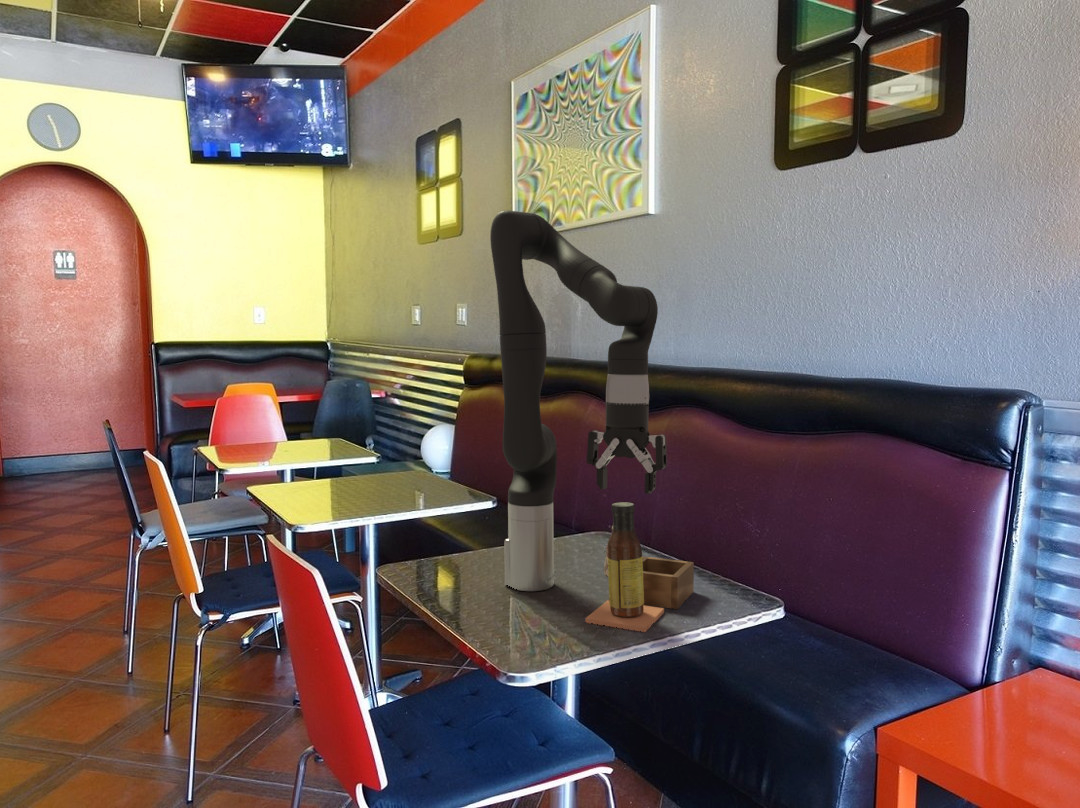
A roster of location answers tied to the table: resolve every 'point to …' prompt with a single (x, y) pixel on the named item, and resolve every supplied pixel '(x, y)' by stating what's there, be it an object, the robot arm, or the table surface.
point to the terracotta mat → (625, 618)
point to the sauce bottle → (625, 564)
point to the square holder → (667, 582)
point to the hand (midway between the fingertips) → (625, 491)
